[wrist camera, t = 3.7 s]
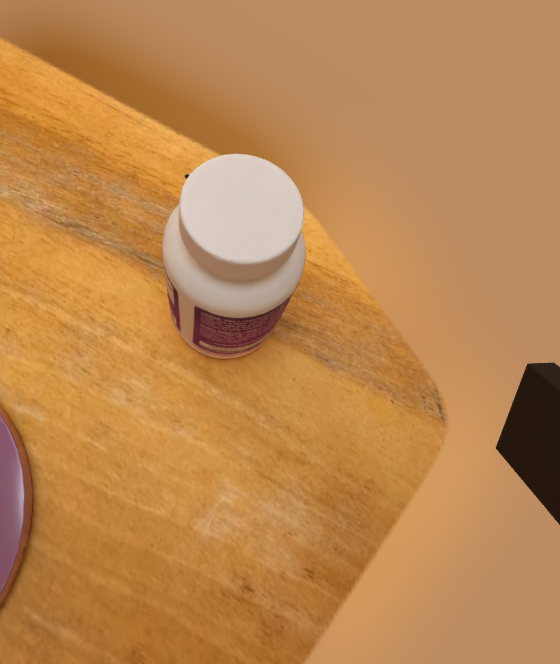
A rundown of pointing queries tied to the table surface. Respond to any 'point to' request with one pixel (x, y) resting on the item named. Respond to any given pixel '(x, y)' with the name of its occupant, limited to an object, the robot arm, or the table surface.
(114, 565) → the table surface
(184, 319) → the pill bottle
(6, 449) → the saucer
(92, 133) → the table surface
